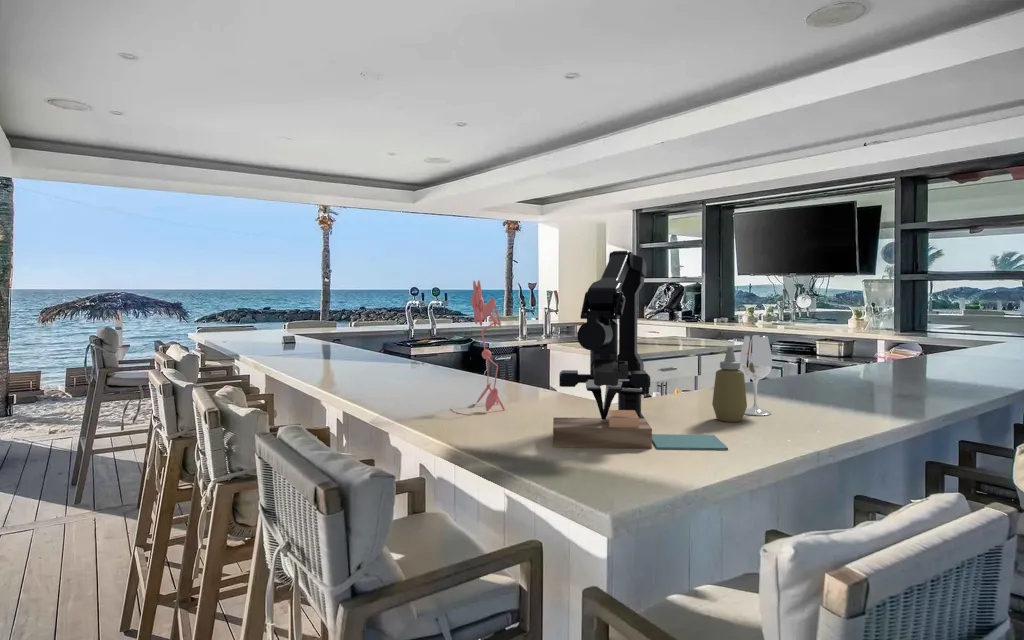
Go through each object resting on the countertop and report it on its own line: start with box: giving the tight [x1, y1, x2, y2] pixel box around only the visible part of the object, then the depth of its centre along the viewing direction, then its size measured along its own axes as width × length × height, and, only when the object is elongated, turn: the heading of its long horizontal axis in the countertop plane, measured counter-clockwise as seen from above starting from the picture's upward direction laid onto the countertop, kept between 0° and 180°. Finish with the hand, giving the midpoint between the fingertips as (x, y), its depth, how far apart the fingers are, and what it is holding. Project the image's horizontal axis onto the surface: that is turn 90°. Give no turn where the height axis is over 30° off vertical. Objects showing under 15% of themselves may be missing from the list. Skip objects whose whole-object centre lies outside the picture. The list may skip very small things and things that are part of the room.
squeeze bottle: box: [711, 346, 748, 423], centre depth 150 cm, size 8×8×18 cm
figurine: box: [451, 279, 506, 416], centre depth 166 cm, size 15×26×35 cm, turn 12°
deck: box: [552, 417, 653, 449], centre depth 130 cm, size 10×20×4 cm, turn 86°
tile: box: [606, 409, 639, 428], centre depth 130 cm, size 8×6×2 cm
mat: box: [652, 433, 729, 451], centre depth 129 cm, size 11×14×1 cm
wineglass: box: [739, 334, 773, 417], centre depth 158 cm, size 8×8×20 cm
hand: (603, 419), depth 130 cm, fingers closed
